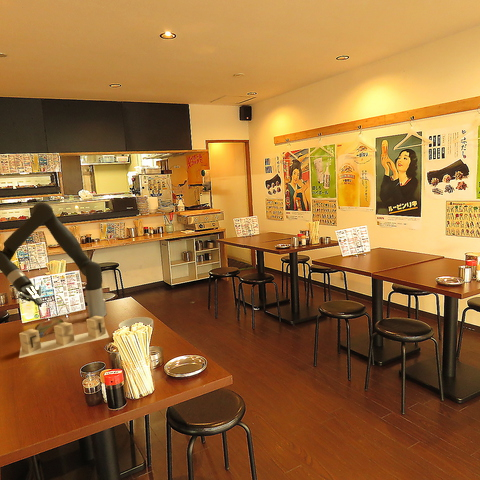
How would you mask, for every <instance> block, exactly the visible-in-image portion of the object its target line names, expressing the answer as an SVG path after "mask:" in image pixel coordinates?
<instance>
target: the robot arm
mask: <svg viewBox="0 0 480 480" xmlns="http://www.w3.org/2000/svg"><path fill="white" fill-rule="evenodd" d="M42 225H44V226H45V227H46V229H47V230H48V231H49V233H50V235H51V236H52V237H53V239H54V240H55V242H56V243H57V244H58V245H59V246H60V248H61V249H62V250H63V252H64V253H66V255H67V256H68V257H70V259H72V261H73V262H74V263H75V265H76V266H77V268H78V269H79V271H80V273H81V274H82V275H83V276H85V280H86V283H85V285H84V289H85V290H84V291H85V296H86V304H87V312H88V319H89V318H91V317H94V316H101V317H104V318H105V317H106V315H108V312H107V305H106V304H107V303H106V299H105V298H104V294H103V293H104V291H103V286H102V285H103V273H102V268H101V265H100V264H99V263H98V262H95V261H93V260H91V259H90V258H89V257H88V256H87V254H86V253H85V252H84V250H83V248H82V246H81V243H80V241H78V239H77V237H76V236H75V235H74V234H73V233H72V232H71V231H70V229H68V228H67V227H66V225H64V224H63V223H62V222H61V221H60V220H59V218H58V217H57V216H56V214H55V213H54V210H53V207H52V206H51V205H50V204H48V203H47V202H41V201H40V202H37V203H35V204H34V205H33V207H32V213H31V215H30V216H29V218H28V219H27V220H25V222H24V223H23V224H22V225H20V227H18V228H16V230H15V231H13V232H12V233H11V234H10V235H9V236H8V237H7V238H6V239H5V240H4V242H3V246H4V247H3V249H2V250H0V271H1V273H2V274H3V276H5V278H6V279H7V280H8V282H10V284H11V285H12V286H13V288H14V289H15V290H16V292H19V294H18V297H17V298H18V299H21V300H23V301H25V302H29V303H30V302H33V303H34V304H35V305H36V306H37V307H40V306H42V305H43V300H42V299H41V298H40V297H41V296H42V287H41V286H38V287H37V286H35V284H33V282H32V280H31V279H30V278H29V277H28V276H27V275H26V274H25V273H24V272H23V271H22V270H21V269H20V268H19V267H18V265H17V264H16V263H14V262H13V261H12V259H13V257H14V256H15V254H16V253H17V251H18V250H19V248H20V247H21V246H22V245H23V244H24V243H25V242H26V241H27V240H28V239H29V237H30V236H32V234H33V233H34V232H35V231H36V230H37V229H38V228H40V227H41V226H42Z"/></svg>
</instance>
